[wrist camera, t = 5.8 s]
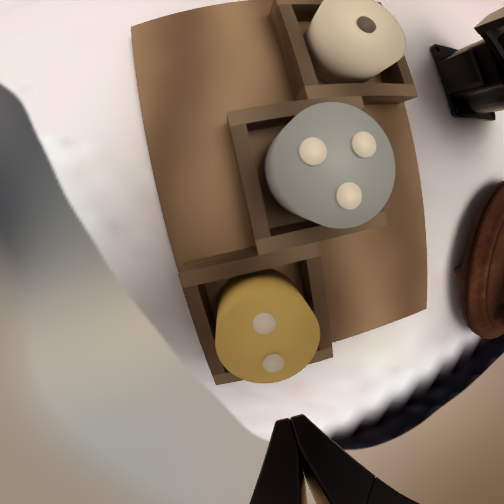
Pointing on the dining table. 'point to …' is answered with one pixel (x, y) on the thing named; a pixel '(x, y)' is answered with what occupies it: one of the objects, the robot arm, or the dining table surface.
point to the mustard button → (264, 327)
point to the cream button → (353, 40)
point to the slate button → (331, 166)
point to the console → (251, 169)
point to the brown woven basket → (485, 269)
